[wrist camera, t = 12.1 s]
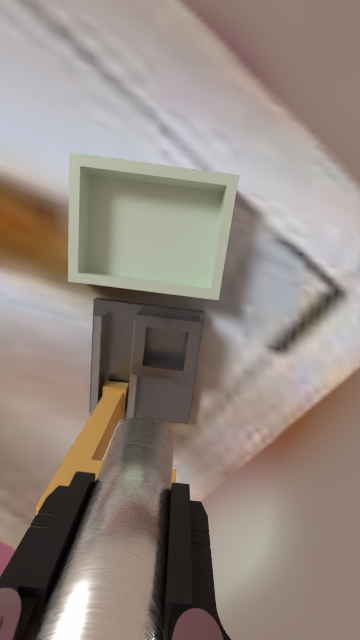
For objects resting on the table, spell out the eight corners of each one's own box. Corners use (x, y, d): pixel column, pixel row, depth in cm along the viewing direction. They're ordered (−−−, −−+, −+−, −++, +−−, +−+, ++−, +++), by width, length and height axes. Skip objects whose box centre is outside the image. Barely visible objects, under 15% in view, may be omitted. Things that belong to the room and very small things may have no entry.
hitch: (92, 406, 33) (80, 425, 29) (97, 297, 29) (84, 303, 25) (187, 417, 33) (188, 438, 29) (203, 310, 29) (206, 318, 25)
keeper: (105, 408, 31) (30, 546, 16) (106, 380, 30) (29, 499, 15) (175, 416, 31) (167, 562, 16) (179, 389, 30) (175, 516, 15)
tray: (81, 278, 29) (68, 281, 25) (84, 166, 26) (69, 152, 23) (214, 295, 29) (218, 300, 26) (232, 186, 26) (239, 175, 23)
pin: (101, 470, 13) (-124, 1048, 4) (105, 403, 12) (-194, 949, 3) (178, 479, 13) (163, 1071, 4) (188, 412, 12) (204, 980, 3)
